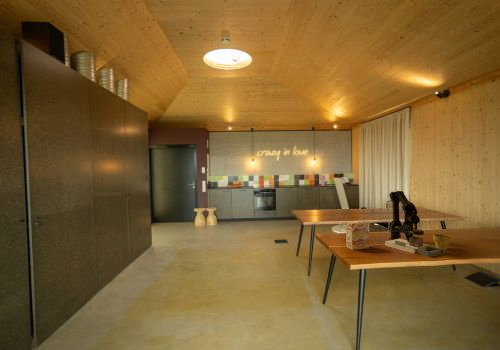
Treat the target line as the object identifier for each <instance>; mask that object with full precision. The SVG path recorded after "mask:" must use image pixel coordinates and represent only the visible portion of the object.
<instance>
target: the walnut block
mask: <svg viewBox="0 0 500 350" xmlns="http://www.w3.org/2000/svg"><path fill="white" fill-rule="evenodd" d="M423 244H424V238H423V237H419V236H415V235H413V237H409V246H413V247H417V248H419V247H423Z"/></svg>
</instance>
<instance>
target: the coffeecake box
mask: <svg viewBox="0 0 500 350" xmlns="http://www.w3.org/2000/svg"><path fill="white" fill-rule="evenodd" d="M345 225H346V227H345V228H346V229H345V231H346V234H345V236H346V237H345V238H346V243H345V244H346V245H345V246H346V247H345V248H347V249H349V250H351V251H353V250H361V249H362V250H363V249H369V248H370V243H369V242H370V238H369V237H370V234H369V233H370V232H369V230H370V228H369V227H370V226H369V225H370V223H369V222H368V221H365V220H356V221H354V220H352V221H346V223H345Z"/></svg>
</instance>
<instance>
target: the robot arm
mask: <svg viewBox="0 0 500 350" xmlns="http://www.w3.org/2000/svg"><path fill="white" fill-rule="evenodd" d="M388 195H389V199H390V201H391V203H392V220H391V222H390V226H389V228H388V231H389V232H390V237H389V240H395V239H402V238H401V236H402V233H403V234H404V235H405V238H406V240H407V241H408V242H409V237H413V236H415V235H417V236H423V235H424V234H425V231H424V230H423V229H422V230H421V229H415V227H414V225H416V224H419V223H420V222H421V218H420V216H418V214H419V213H418V210H417V207H416V206H415V205H414V202H412V201H409V199H408V198H407V196H406V195H405V192H404V191H403V190H396V191H390V193H389V194H388ZM400 203H401V204H402V211H403V215H404V220H403V221H402V222H401V220H400Z"/></svg>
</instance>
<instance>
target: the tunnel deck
mask: <svg viewBox="0 0 500 350" xmlns="http://www.w3.org/2000/svg"><path fill="white" fill-rule="evenodd" d="M384 246H386V247H389V248H393V249H397V250H400V251H404V252H406V253H407V252H408V253H411V254H417V255H421V256H425V257H429V258H433V257H435V256H436V257H437V256H440V255H443V250H442V249H439V248H436V247H434V246H430V244H427V243H423V247H419V248H417V247H413V246H409V242H408V241H407V239H403V238H401V239H395V240H392V239H389V240H385V241H384Z"/></svg>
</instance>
